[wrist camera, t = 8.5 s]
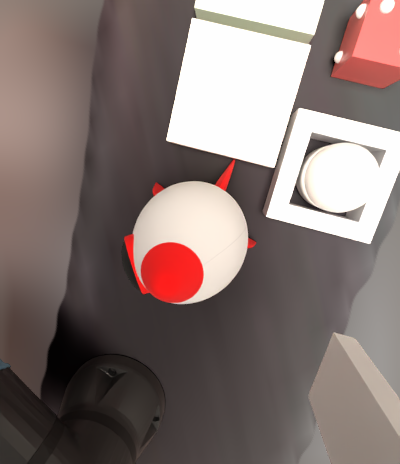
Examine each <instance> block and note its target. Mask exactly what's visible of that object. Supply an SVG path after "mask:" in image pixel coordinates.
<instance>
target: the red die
mask: <svg viewBox="0 0 400 464" xmlns="http://www.w3.org/2000/svg"><path fill="white" fill-rule="evenodd" d="M334 61H335V65H334V68H333V71H332V74H331V77H335V78H339V79H343V80H348V81H352V82H356V83H360V84H365V85H369V86H373V87H377V88H382V89H383V88H385V87H387V86H389V85H391V84H393V83H394V82H396V81H398V80H400V0H363V2H362V3H361V4H360V6H359V7H358V8H357V9H356V11H355V12H354V13H353V15H352V16H351V17H350V18H349V21H348V25H347V28H346V31H345V34H344V37H343V40H342V43H341V46H340V49H339V52H337V53H336V54H335V57H334Z"/></svg>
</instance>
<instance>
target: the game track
mask: <svg viewBox="0 0 400 464" xmlns="http://www.w3.org/2000/svg"><path fill="white" fill-rule="evenodd" d="M323 3H324V0H196V2H195V7H194V8H195V12H196V17H197V19H195V18H192V21H191V26H190V31H189V36H188V40H187V45H186V50H185V55H184V59H183V64H182V69H181V74H180V78H179V83H178V88H177V92H176V97H175V102H174V107H173V111H172V116H171V121H170V126H169V130H168V135H167V140H166V141H168V142H170V143H174V144H178V145H182V146H186V147H190V148H194V149H198V150H202V151H206V152H210V153H214V154H218V155H222V156H226V157H230V158H234V159H238V160H242V161H245V162H249V163H253V164H257V165H261V166H265V167H269V168H274V167H275V163H276V160H277V157H278V153H279V150H280V147H281V143H282V140H283V137H284V133H285V130H286V127H287V123H288V120H289V117H290V113H291V110H292V107H293V103H294V100H295V97H296V93H297V90H298V87H299V83H300V80H301V77H302V73H303V70H304V67H305V63H306V60H307V57H308V53H309V50H310V47H311V45H308V44H309V42H310V41H311V39H312V37H313V36H314V33H315V30H316V27H317V23H318V20H319V17H320V13H321V10H322V7H323Z"/></svg>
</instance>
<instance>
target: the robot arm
mask: <svg viewBox="0 0 400 464" xmlns="http://www.w3.org/2000/svg"><path fill="white" fill-rule="evenodd" d="M10 367H11V366H10V365H9V364H8V363H4V362H3V361H2V360H1V359H0V464H135V463H136V460H137V459H138V458H139V456H140V455H141V453H142V452H143V451H144V449H145V448H146V446H147V445H148V444H149V442H150V441H151V440H152V438H153V437H154V435H155V434H156V432H157V431H158V429H159V426H160V424H161V421H162V417H163V413H164V409H165V396H164V392H163V389H162V386H161V384H160V382H159V381H158V379H157V378H156V376H155V375H154V374H153V373H152V372H151V371H150V370H149V369H148V368H147V367H145V366H144V365H143V364H141V363H140V362H138V361H136V360H134V359H131V358H129V357H125V356H121V355H102V356H98V357H95V358H92V359H90V360H89V361H87V362H86V363H84V364H83V365H82V366H81V367H80V368H79V369H78V371H77V372H76V373H75V374H74V376H73V377H72V378H71V380H70V382H69V384H68V385H67V388H66V391H65V394H64V397H63V400H62V403H61V407H60V410H59V413H58V416H56V415H55V414H54V413H53V412H52V411H51V410H50V409H49V408H48V407H47V406H46V405H45V404H44V403H43V402H42V401H41V400H40V399H39V398H38V397H37V396H36V395H35V394H34V393H33V392H32V391H31V390H30V389H29V388H28V387H27V386H26V385H25V384H24V383H23V382H22V381H21V380H20V379H19V377H18V376H17V375H16V374H15V373H14V372H13V371H12V370H11V369H10ZM308 397H309V400H310V403H311V406H312V409H313V412H314V415H315V418H316V421H317V424H318V427H319V430H320V432H321V436H322V438H323V442H324V444H325V447H326V450H327V453H328V456H329V459H330V462H331V464H400V399H399V398H398V396H397V395H396V393H395V392H394V391H393V390H392V388H391V387H390V385H389V384H388V382H387V381H386V380H385V378H384V377H383V376H382V374H381V373H380V372H379V370H378V369H377V368H376V366H375V365H374V363H373V362H372V361H371V359H370V358H369V357H368V355H367V354H366V352H365V351H364V350H363V349H362V347H361V346H360V344H359V343H358V342H357V340H356V339H355V338H352V337H348V336H345V335H341V334H337V333H333V335H332V338H331V340H330V343H329V345H328V348H327V350H326V353H325V355H324V358H323V360H322V363H321V365H320V368H319V370H318V373H317V375H316V378H315V380H314V383H313V385H312V388H311V390H310V393H309V395H308Z"/></svg>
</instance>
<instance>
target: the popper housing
mask: <svg viewBox="0 0 400 464" xmlns="http://www.w3.org/2000/svg"><path fill="white" fill-rule="evenodd" d="M310 138H312V139H316V140H320V141H324V142H328V143H332V144H336V143H353V144H356V145H359V146H361V147H364V148H365V149H367V150H368V151H369V152H370V153H371V154H372V155H373V156H374V158H375V159H376V161H377V163H378V166H379V171H380V178H379V183H378V187H377V189H376V191H375V193H374V194H373V196H372V197H371V198H370V199H369V200H368V201H367V202H366V203H365V204H363V205H362V206H360V207H359V208H357V209H354V210H351V211H348V212H347V213H346V215H345V217H343V216H340V215H336V214H332V213H328V212H324V211H320V210H316V209H312V208H308V207H305V206H301V205H297V204H293V203H289V201H290V198H291V195H292V192H293V189H294V186H295V183H296V180H297V176H298V173H299V170H300V167H301V164H302V161H303V158H304V155H305V152H306V148H307V145H308V142H309V139H310ZM399 170H400V132H397V131H393V130H389V129H385V128H381V127H376V126H372V125H368V124H364V123H360V122H356V121H352V120H347V119H343V118H339V117H335V116H331V115H327V114H323V113H318V112H314V111H310V110H306V109H302V108H299V109H298V110H297V111H295V112H294V113H293V114H292V115H291V119H290V122H289V125H288V129H287V132H286V135H285V138H284V142H283V145H282V148H281V152H280V155H279V158H278V162H277V165H276V168H275V172H274V175H273V178H272V182H271V185H270V188H269V192H268V195H267V198H266V202H265V205H264V208H263V211H262V212H263V213H264V215H265V216H266V217H269V218H273V219H277V220H281V221H284V222H288V223H292V224H296V225H300V226H304V227H307V228H311V229H315V230H319V231H323V232H327V233H330V234H334V235H338V236H342V237H346V238H350V239H353V240H357V241H361V242H365V243H369V244H370V242H371V240H372V237H373V235H374V232H375V230H376V227H377V225H378V222H379V220H380V217H381V215H382V212H383V210H384V207H385V205H386V202H387V200H388V197H389V195H390V192H391V190H392V187H393V185H394V182H395V180H396V177H397V175H398V172H399Z"/></svg>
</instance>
